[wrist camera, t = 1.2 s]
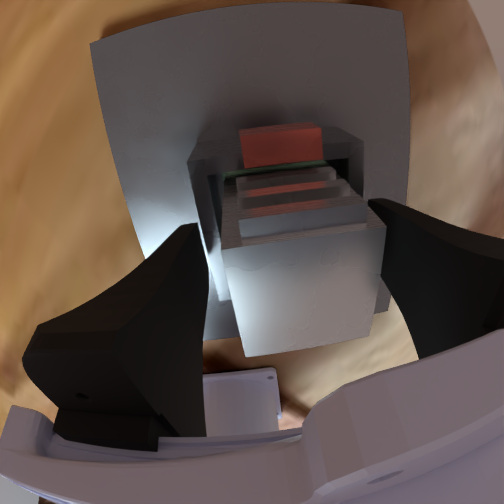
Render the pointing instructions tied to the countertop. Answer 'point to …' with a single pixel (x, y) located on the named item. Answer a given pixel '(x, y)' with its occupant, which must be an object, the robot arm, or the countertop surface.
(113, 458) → the robot arm
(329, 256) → the grooved grey block
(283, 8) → the jack base
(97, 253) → the countertop surface
